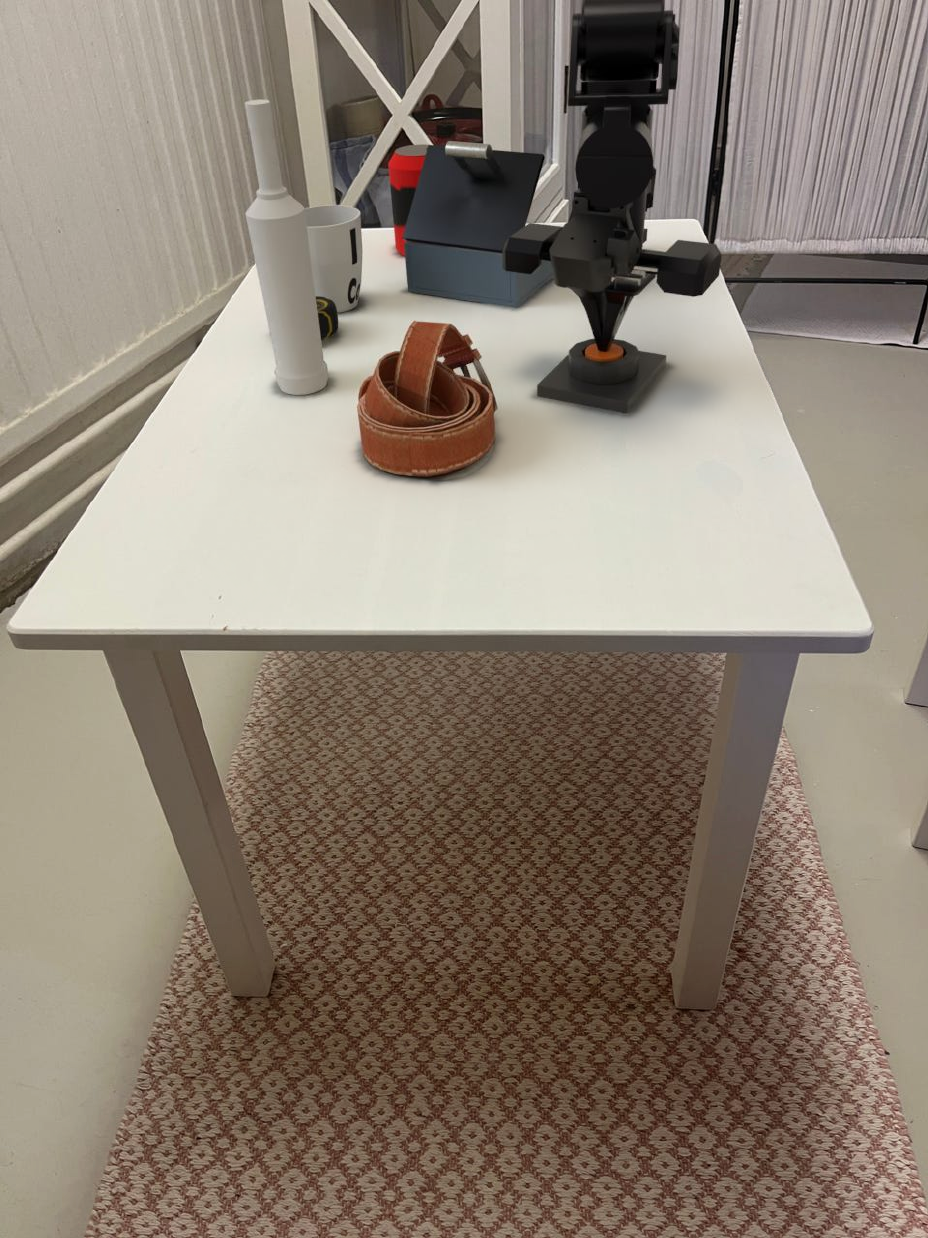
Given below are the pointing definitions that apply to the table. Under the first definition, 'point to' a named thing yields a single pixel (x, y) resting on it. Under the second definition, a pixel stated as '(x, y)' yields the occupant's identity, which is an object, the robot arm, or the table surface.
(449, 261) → the storage case
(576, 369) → the block
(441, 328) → the belt
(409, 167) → the soda can
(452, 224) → the box lid
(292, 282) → the bottle
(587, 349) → the button
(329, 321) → the tape measure
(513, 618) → the table surface
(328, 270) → the cup
